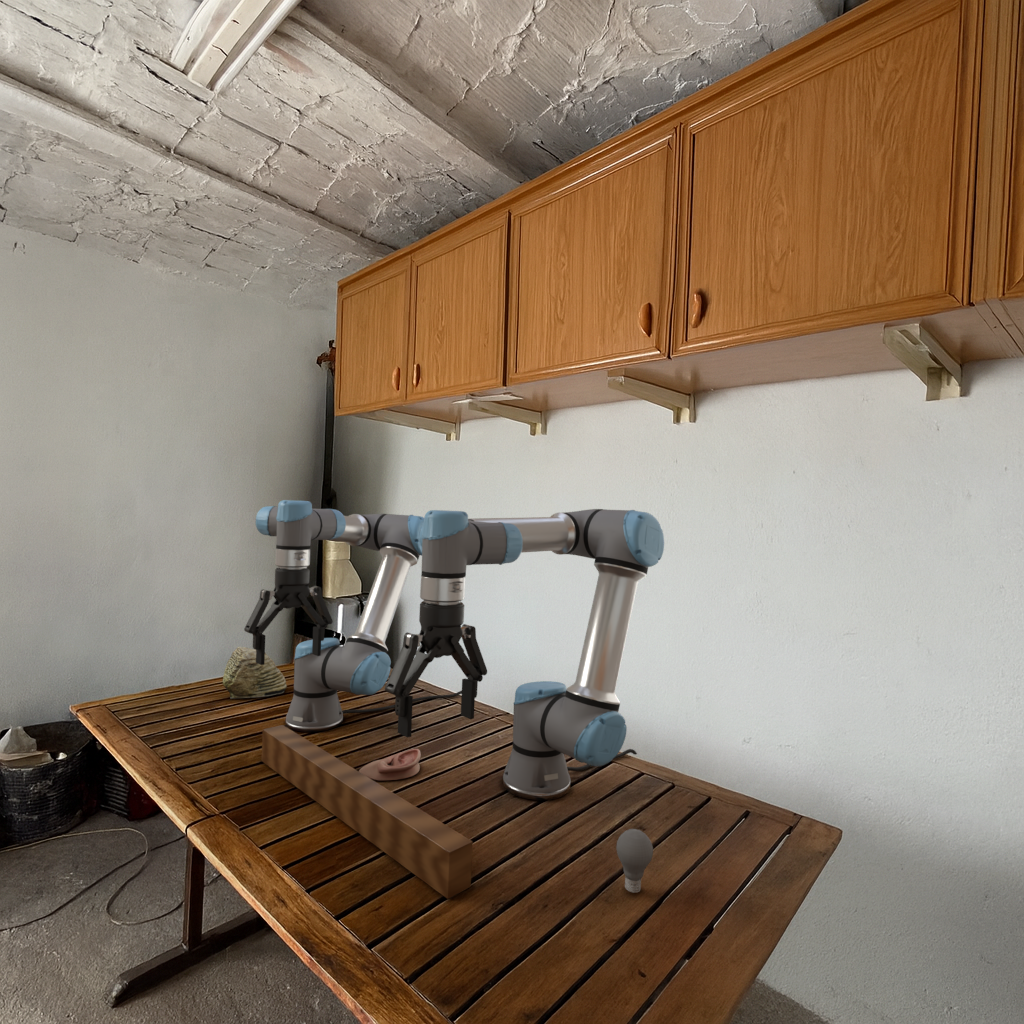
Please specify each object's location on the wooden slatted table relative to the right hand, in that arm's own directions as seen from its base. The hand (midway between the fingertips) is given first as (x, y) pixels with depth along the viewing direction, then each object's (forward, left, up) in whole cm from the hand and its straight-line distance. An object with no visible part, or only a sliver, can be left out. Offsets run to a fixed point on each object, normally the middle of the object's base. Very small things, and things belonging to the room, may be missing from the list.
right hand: (437, 725), depth 108 cm
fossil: (-28, -108, -26) cm, 115 cm away
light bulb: (-19, +28, -26) cm, 43 cm away
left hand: (-6, -54, 0) cm, 54 cm away
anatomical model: (-22, -36, -26) cm, 49 cm away
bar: (-3, -27, -26) cm, 37 cm away
